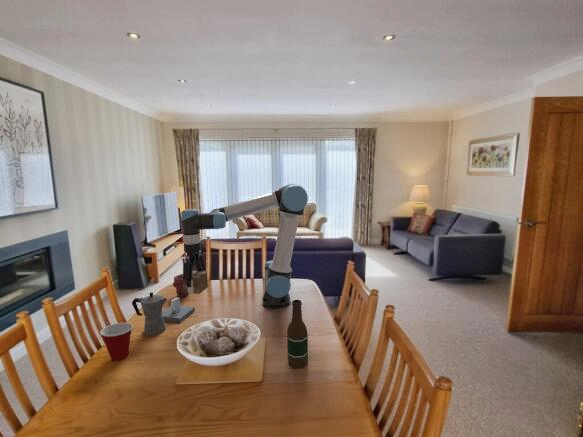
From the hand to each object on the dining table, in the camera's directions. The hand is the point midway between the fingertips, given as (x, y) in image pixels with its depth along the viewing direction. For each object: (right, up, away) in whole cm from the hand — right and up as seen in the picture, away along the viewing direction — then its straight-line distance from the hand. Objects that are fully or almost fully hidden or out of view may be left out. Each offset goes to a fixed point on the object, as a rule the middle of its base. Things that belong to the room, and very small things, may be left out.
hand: (196, 289), depth 137 cm
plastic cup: (-21, -20, -25) cm, 39 cm away
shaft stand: (-12, -15, +7) cm, 20 cm away
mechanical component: (-18, -11, +31) cm, 37 cm away
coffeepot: (-17, -17, -7) cm, 25 cm away
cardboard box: (0, 0, 0) cm, 0 cm away
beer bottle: (+48, -20, -30) cm, 60 cm away
